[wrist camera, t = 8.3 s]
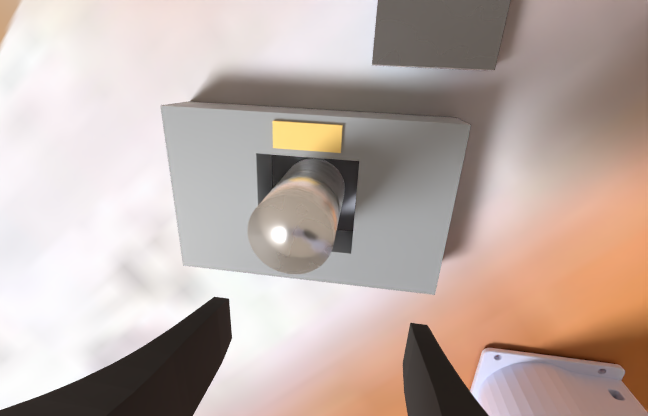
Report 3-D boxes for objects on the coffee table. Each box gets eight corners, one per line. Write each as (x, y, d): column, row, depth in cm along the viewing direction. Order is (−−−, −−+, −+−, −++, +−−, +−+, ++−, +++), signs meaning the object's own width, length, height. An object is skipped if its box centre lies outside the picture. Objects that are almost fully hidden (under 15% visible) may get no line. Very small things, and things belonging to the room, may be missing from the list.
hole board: (456, 117, 18) (472, 125, 15) (426, 267, 22) (435, 296, 19) (189, 101, 20) (158, 105, 17) (204, 243, 24) (181, 267, 21)
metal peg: (343, 218, 22) (331, 278, 15) (284, 213, 22) (249, 269, 16) (346, 160, 20) (336, 199, 14) (284, 155, 21) (245, 191, 14)
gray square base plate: (514, -70, 15) (529, -85, 14) (484, 70, 17) (494, 70, 16) (384, -70, 16) (385, -85, 14) (371, 65, 18) (372, 64, 17)
